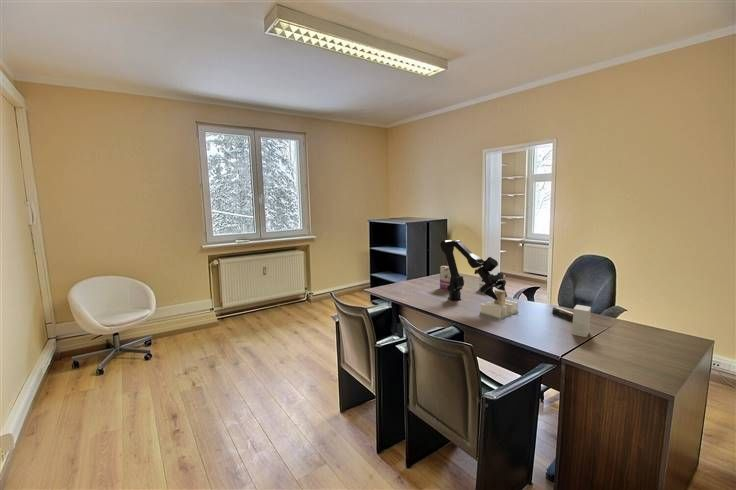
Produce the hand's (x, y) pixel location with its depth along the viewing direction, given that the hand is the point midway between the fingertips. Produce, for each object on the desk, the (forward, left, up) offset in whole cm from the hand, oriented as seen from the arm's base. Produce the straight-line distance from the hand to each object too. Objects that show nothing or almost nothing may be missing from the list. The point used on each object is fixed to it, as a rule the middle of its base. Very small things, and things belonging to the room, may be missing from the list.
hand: (501, 298), depth 199 cm
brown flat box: (+29, -15, -10) cm, 34 cm away
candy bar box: (-3, +55, -9) cm, 56 cm away
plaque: (0, +1, -8) cm, 8 cm away
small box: (+18, -37, -9) cm, 42 cm away
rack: (0, +1, -9) cm, 9 cm away
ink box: (+21, +44, -9) cm, 50 cm away
